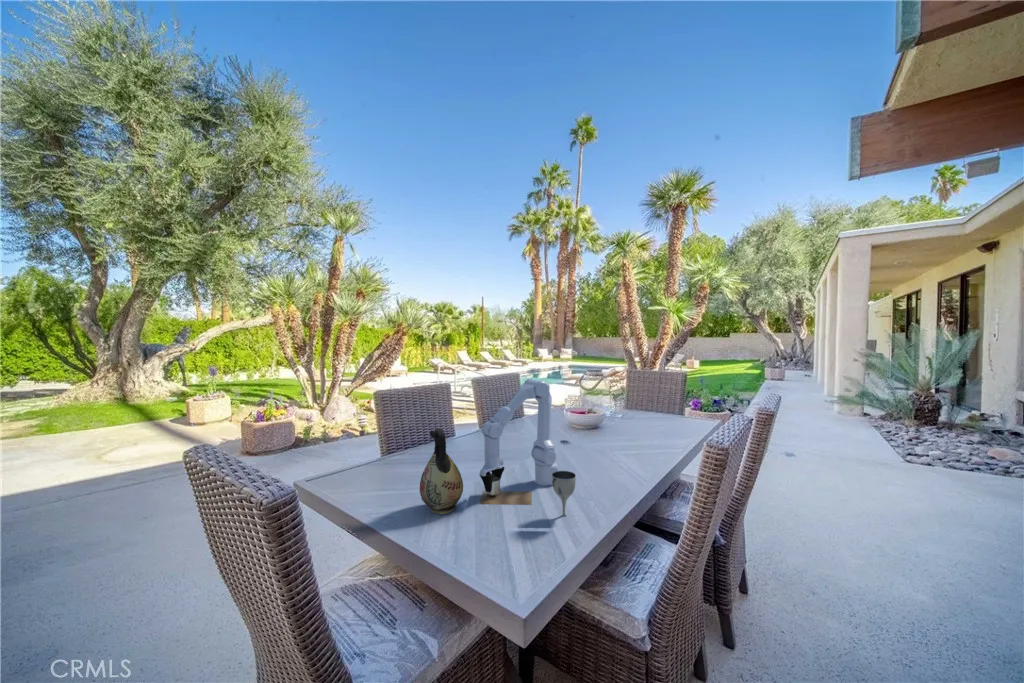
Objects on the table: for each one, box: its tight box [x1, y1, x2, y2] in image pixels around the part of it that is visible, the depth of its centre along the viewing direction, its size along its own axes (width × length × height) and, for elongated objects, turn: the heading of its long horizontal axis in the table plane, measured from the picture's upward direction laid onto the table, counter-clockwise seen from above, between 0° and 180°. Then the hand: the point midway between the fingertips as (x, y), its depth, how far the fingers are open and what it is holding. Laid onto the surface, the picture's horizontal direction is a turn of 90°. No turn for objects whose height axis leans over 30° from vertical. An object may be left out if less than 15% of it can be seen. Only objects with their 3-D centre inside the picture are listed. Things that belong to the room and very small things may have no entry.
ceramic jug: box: [419, 427, 464, 515], centre depth 143 cm, size 17×15×30 cm
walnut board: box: [479, 490, 533, 506], centre depth 151 cm, size 19×12×1 cm, turn 87°
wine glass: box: [552, 470, 577, 518], centre depth 136 cm, size 8×8×15 cm
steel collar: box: [484, 476, 501, 495], centre depth 153 cm, size 6×6×5 cm
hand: (492, 488), depth 153 cm, fingers closed on steel collar, 5 cm apart
